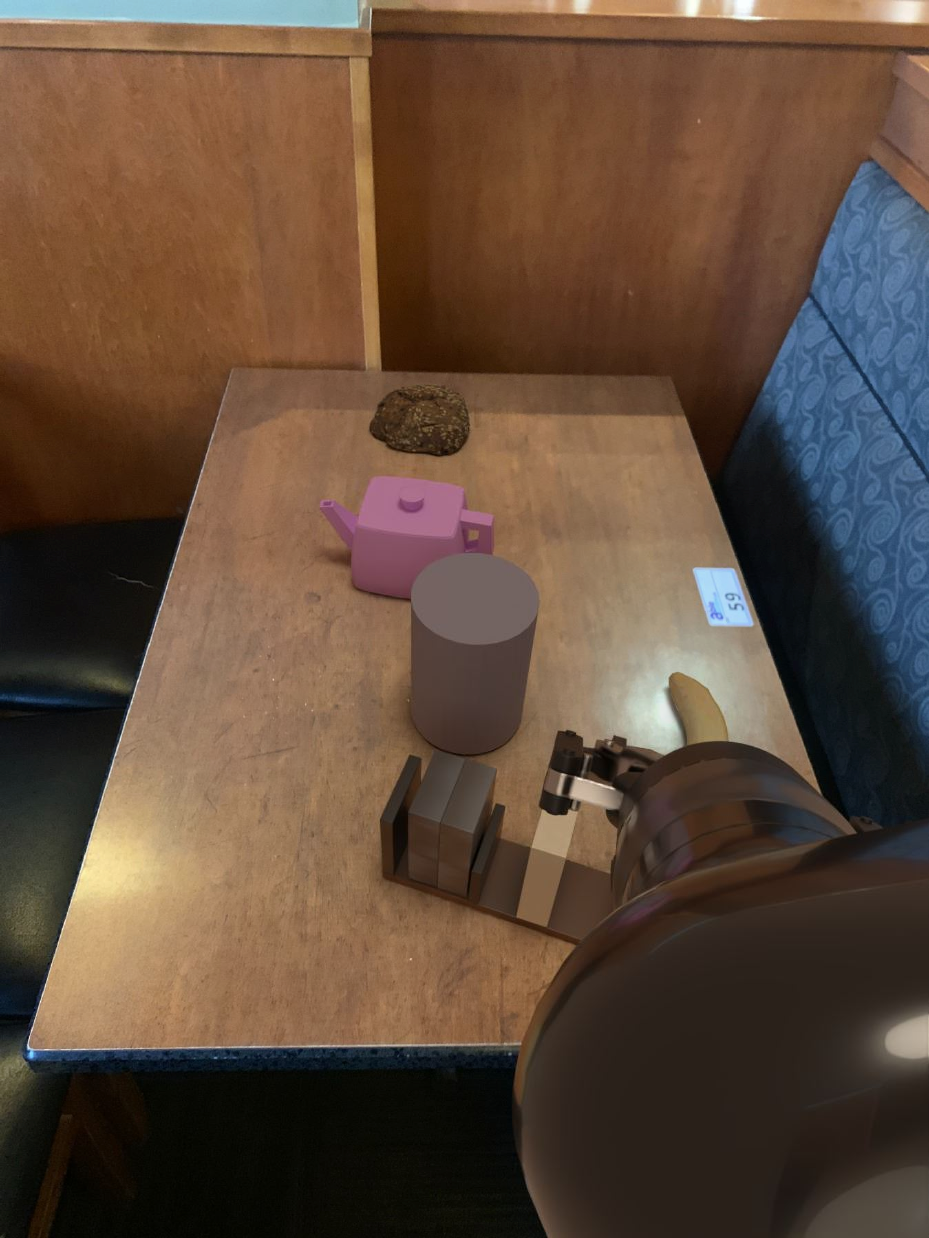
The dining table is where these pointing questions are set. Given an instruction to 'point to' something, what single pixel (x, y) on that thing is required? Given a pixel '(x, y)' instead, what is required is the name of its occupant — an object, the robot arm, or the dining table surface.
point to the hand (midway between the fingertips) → (697, 780)
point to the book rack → (475, 849)
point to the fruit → (697, 710)
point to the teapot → (406, 531)
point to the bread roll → (422, 419)
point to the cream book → (545, 866)
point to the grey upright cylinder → (471, 650)
